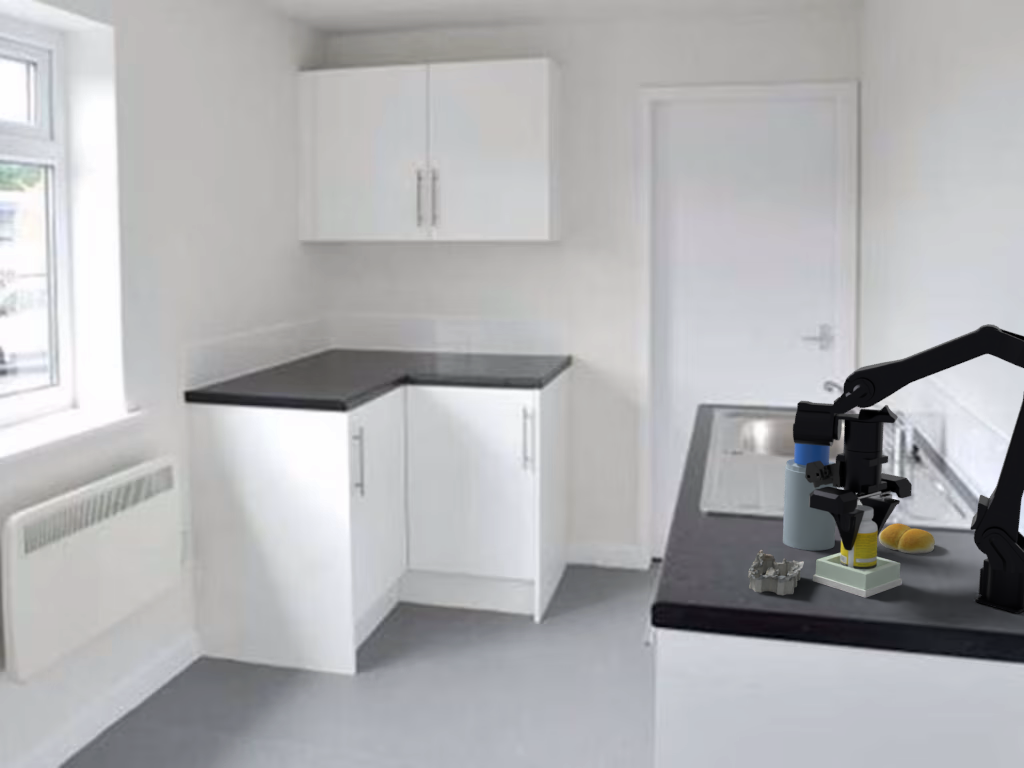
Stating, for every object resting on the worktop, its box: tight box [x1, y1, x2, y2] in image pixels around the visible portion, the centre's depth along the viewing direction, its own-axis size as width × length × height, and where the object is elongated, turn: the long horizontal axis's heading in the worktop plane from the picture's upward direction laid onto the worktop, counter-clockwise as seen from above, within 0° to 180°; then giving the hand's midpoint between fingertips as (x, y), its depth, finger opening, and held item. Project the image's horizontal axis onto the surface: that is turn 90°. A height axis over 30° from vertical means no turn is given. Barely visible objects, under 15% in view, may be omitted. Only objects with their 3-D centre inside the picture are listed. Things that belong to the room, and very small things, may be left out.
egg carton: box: [747, 549, 805, 596], centre depth 161 cm, size 11×8×4 cm
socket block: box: [812, 551, 903, 598], centre depth 160 cm, size 10×10×4 cm
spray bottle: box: [782, 443, 838, 551], centre depth 180 cm, size 9×9×25 cm
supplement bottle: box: [840, 504, 879, 571], centre depth 160 cm, size 5×5×10 cm
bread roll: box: [878, 523, 936, 555], centre depth 179 cm, size 8×9×4 cm
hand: (859, 546), depth 160 cm, fingers closed on supplement bottle, 5 cm apart
